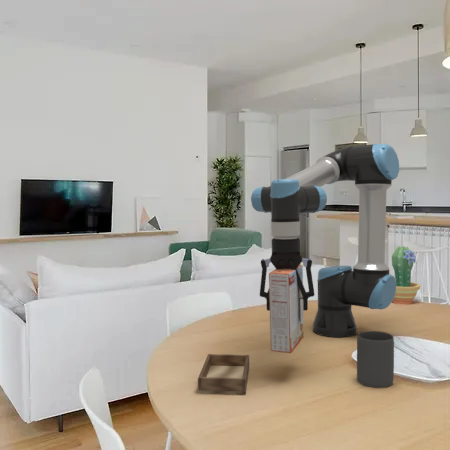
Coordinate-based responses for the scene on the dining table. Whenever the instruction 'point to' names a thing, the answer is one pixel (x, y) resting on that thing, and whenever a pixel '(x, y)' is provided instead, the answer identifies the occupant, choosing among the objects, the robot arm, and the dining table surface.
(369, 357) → the mug
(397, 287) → the potted cactus
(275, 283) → the cracker box
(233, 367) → the tray
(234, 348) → the dining table surface
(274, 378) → the dining table surface
